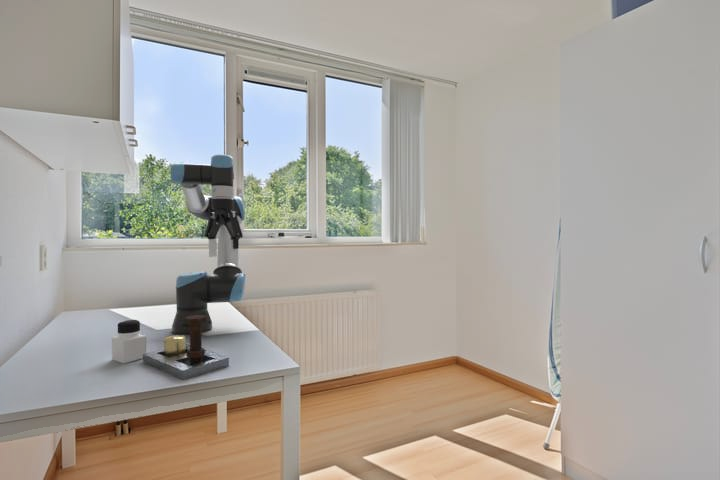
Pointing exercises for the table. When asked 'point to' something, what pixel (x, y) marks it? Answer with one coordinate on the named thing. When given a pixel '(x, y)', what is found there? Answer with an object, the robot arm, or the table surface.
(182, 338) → the hole plate
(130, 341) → the medicine bottle
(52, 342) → the table surface
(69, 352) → the table surface
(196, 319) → the bolt
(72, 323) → the table surface
